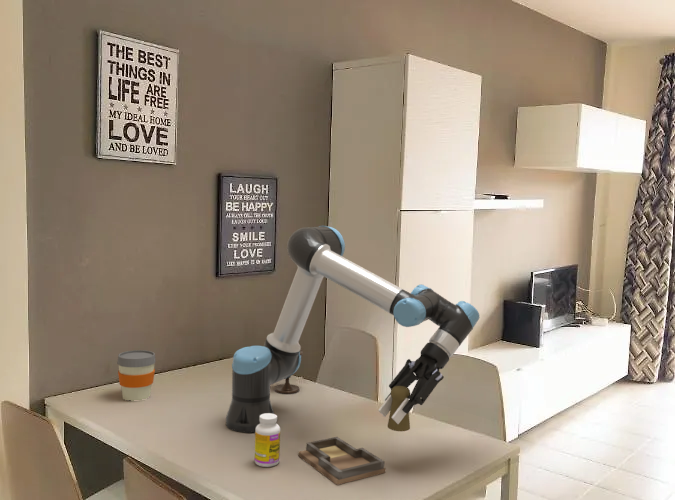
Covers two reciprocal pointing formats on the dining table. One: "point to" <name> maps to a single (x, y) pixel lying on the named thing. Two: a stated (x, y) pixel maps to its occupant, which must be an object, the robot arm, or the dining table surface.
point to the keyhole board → (341, 460)
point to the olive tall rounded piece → (397, 399)
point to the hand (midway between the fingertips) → (388, 417)
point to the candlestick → (287, 385)
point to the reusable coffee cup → (136, 373)
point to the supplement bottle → (267, 441)
